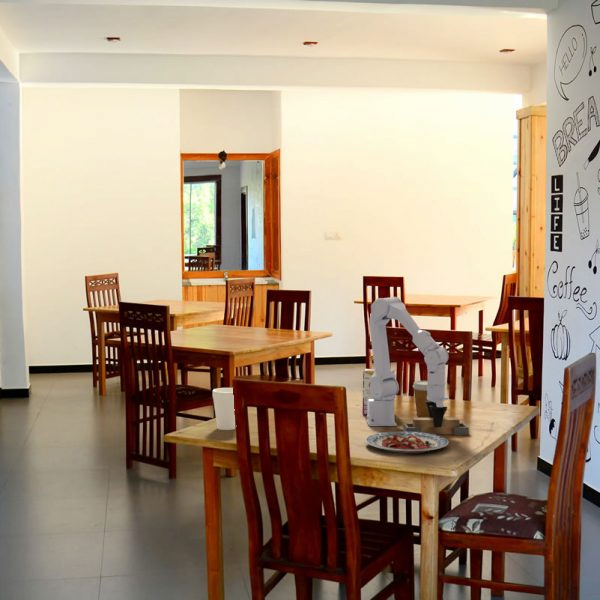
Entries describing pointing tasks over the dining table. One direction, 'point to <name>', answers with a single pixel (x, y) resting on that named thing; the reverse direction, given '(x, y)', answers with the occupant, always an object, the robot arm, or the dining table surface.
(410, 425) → the end cap
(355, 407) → the dining table surface
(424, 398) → the disposable coffee cup
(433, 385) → the robot arm
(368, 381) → the candy bar box
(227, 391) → the foam cup
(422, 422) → the slat
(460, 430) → the end cap
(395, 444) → the ceramic plate
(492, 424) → the dining table surface
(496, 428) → the dining table surface
